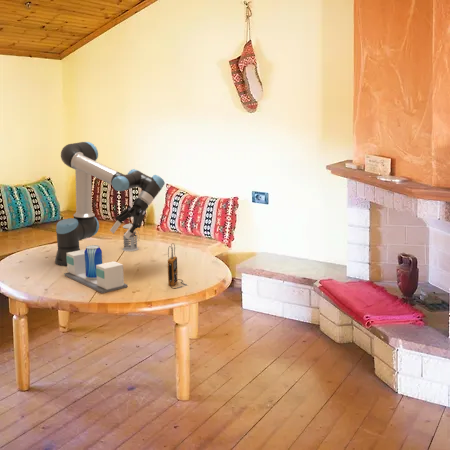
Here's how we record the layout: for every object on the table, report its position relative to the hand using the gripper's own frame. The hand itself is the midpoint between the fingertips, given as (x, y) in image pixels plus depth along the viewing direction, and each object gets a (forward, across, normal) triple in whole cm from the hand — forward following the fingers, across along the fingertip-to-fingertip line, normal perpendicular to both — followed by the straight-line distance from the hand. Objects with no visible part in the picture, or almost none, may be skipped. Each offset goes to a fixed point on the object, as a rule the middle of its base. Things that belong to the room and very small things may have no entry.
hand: (118, 234), depth 328 cm
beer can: (+24, 0, -4) cm, 25 cm away
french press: (-7, +40, -39) cm, 56 cm away
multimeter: (+5, -32, -25) cm, 41 cm away
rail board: (+26, 0, -5) cm, 26 cm away
